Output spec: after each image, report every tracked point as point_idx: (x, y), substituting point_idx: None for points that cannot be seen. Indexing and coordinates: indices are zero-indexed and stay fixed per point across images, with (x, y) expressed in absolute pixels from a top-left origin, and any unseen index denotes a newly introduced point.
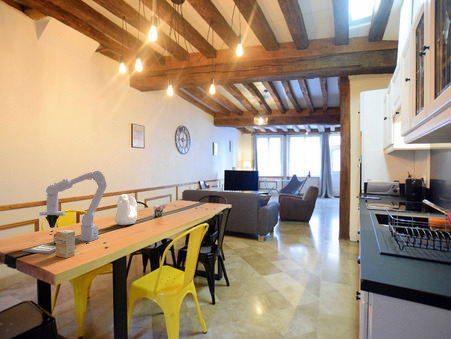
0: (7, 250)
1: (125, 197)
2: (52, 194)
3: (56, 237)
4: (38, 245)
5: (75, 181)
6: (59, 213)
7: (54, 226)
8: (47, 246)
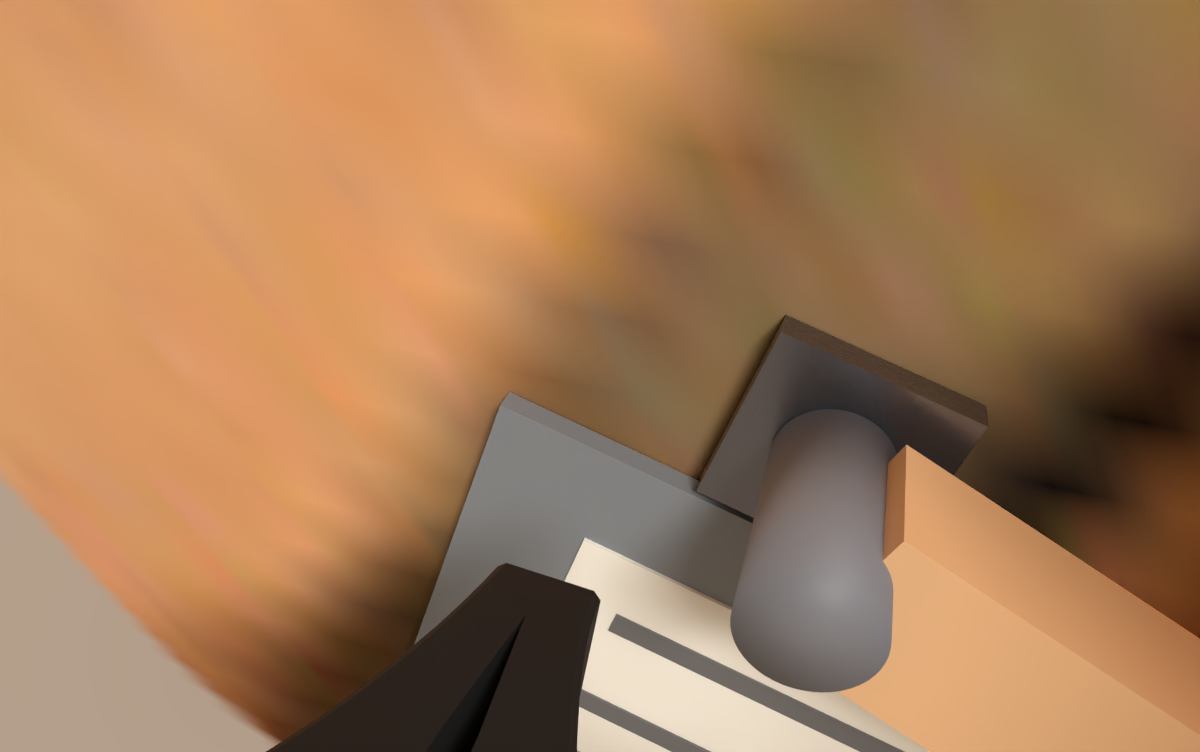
0: (141, 591)
1: None
2: None
3: None
4: (505, 534)
5: None
6: None
7: (592, 631)
8: (748, 663)
